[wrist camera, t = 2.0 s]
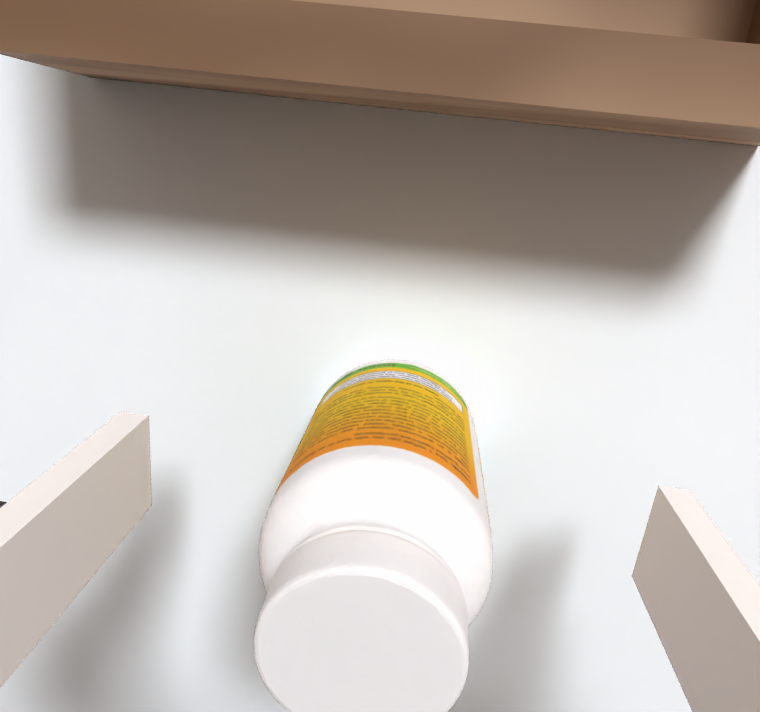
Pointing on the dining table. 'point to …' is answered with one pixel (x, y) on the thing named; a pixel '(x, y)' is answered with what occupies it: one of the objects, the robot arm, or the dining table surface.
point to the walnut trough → (429, 55)
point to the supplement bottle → (376, 549)
